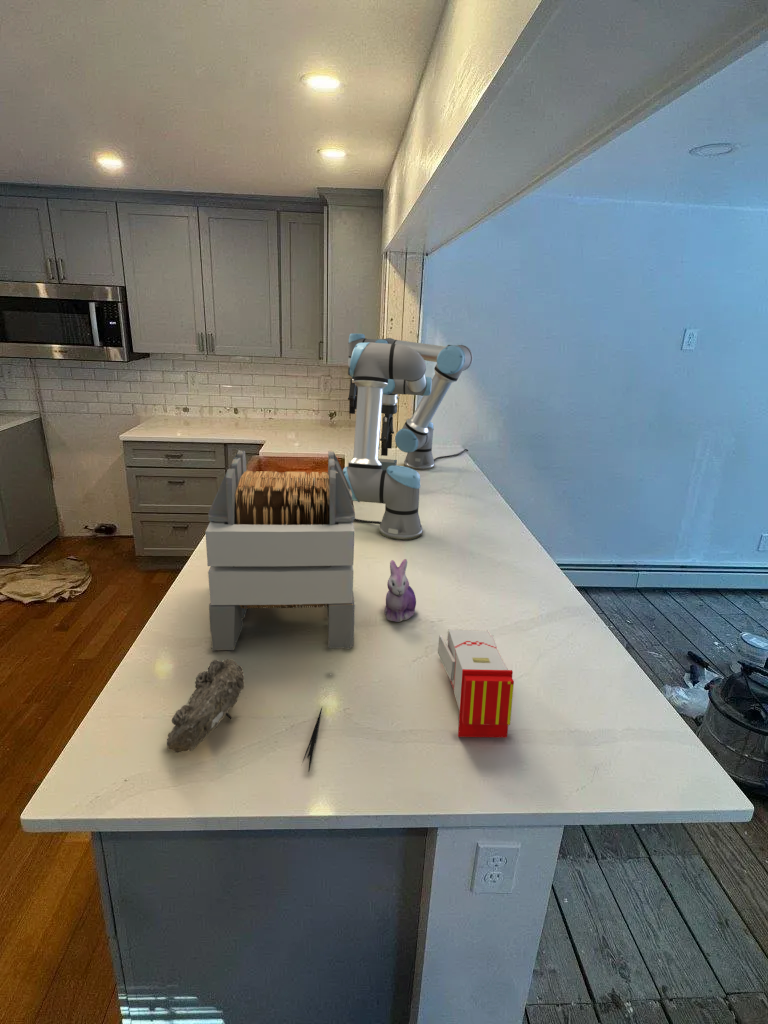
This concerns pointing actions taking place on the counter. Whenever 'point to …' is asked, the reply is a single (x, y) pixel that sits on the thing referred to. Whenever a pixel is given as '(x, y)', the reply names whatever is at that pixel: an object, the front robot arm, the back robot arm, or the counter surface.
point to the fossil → (206, 705)
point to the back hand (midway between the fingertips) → (354, 411)
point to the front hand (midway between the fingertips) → (386, 451)
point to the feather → (313, 740)
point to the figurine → (399, 594)
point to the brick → (387, 463)
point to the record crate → (281, 548)
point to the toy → (478, 682)
